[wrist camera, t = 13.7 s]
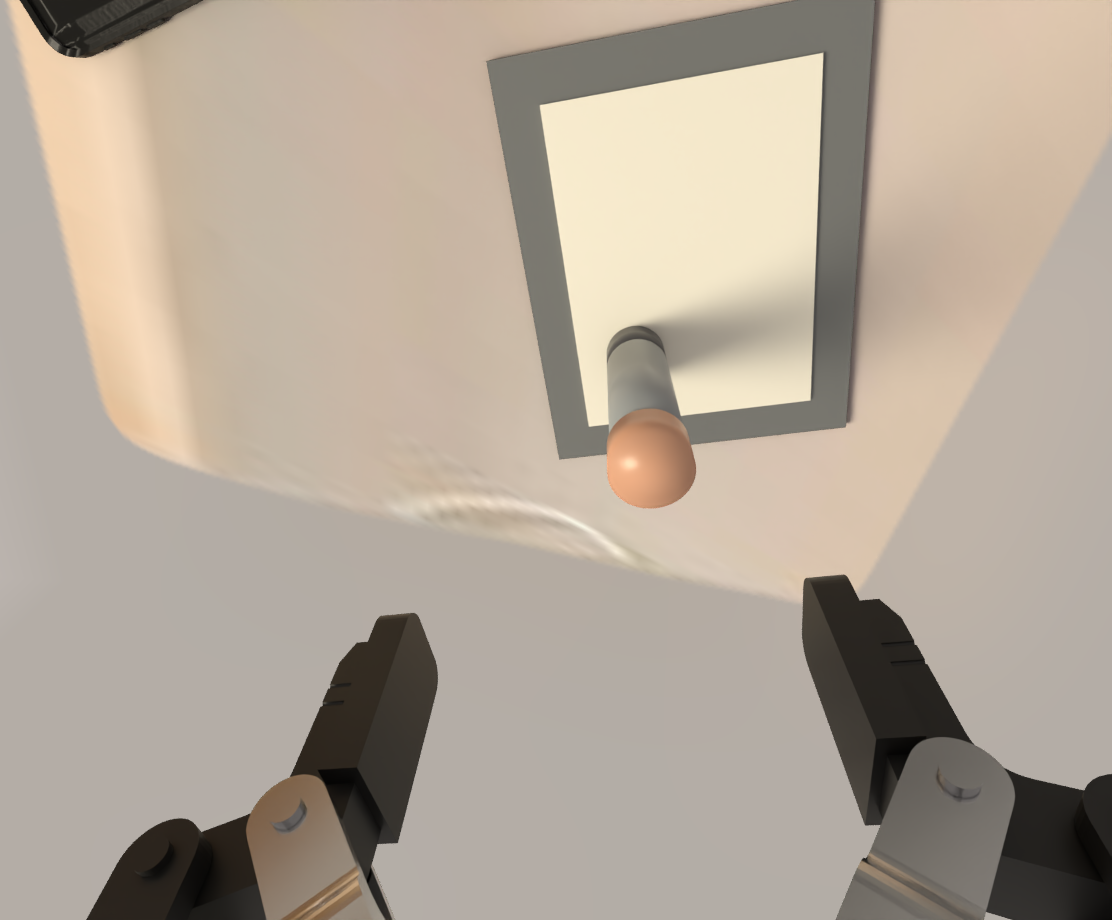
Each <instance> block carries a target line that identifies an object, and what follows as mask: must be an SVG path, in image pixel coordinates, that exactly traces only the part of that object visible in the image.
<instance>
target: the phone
mask: <svg viewBox="0 0 1112 920" xmlns="http://www.w3.org/2000/svg"><path fill="white" fill-rule="evenodd" d="M20 1H21V3H22V4H23V6H24V8H25V9H26V11H27V12H28V14H29V16H30V17H31V19H32V21H33V22H34V24H35V25H36V27H37V29H38V30H39V32H40V33H41V35H42V36H43V38H44V39H45V40H46V42H47V43H48V44H49V45H50V46H51V47H52V48H53V49H54V50H56V51H57V52H59V53H61V54H63V55H65V56H69V57H80V58H87V57H91V56H94V55H96V54H98V53H100V52H102V51H104V50H108V49H110V48H112V47H114V46H116V44H118V43H120V42H122V41H124V40H129V39H131V38H133V37H135V36H137V35H139V34H141V33H143V32H144V30H145V29H147V28H148V29H152V28H154V27H156V26H158V25H160V24H162V23H164V22H166V21H165V19H167V18H169V17H171V16H173V15H175V14H177V13H179V12H181V11H183V10H185V9H187V8H189V7H191V6H193V5H195V4H197V3H199V2H201V1H203V0H20Z"/></svg>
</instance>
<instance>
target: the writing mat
mask: <svg viewBox="0 0 1112 920" xmlns="http://www.w3.org/2000/svg"><path fill="white" fill-rule="evenodd" d="M874 8H875V0H797V1H792V2H786V3H781V4H776V5H771V6H766V7H761V8H756V9H751V10H746V11H740V12H735V13H730V14H725V15H720V16H715V17H710V18H705V19H700V20H695V21H689V22H684V23H679V24H674V25H669V26H664V27H659V28H654V29H649V30H643V31H638V32H633V33H628V34H623V35H618V36H613V37H608V38H603V39H598V40H592V41H587V42H582V43H577V44H572V45H567V46H562V47H557V48H552V49H546V50H541V51H536V52H531V53H526V54H521V55H516V56H511V57H506V58H501V59H495V60H490V61H486V62H487V67H488V73H489V78H490V84H491V89H492V95H493V100H494V105H495V111H496V116H497V122H498V127H499V133H500V138H501V144H502V149H503V155H504V160H505V165H506V171H507V176H508V182H509V187H510V193H511V198H512V204H513V209H514V214H515V220H516V225H517V231H518V236H519V242H520V247H521V253H522V258H523V263H524V269H525V274H526V280H527V285H528V291H529V296H530V302H531V307H532V313H533V318H534V323H535V329H536V334H537V340H538V345H539V351H540V356H541V362H542V367H543V372H544V378H545V383H546V389H547V394H548V400H549V405H550V411H551V416H552V421H553V427H554V432H555V438H556V443H557V449H558V454H559V460H560V459H569V458H577V457H586V456H595V455H604V454H607V439H608V436H609V419H608V386H607V347H608V344H609V342H610V340H611V339H612V337H613V336H614V335H615V334H616V333H617V332H619V331H620V330H622V329H624V328H627V327H630V326H643V327H646V328H649V329H651V330H652V331H654V332H655V333H656V334H657V335H658V336H659V337H660V339H661V341H662V343H663V347H664V351H665V355H666V359H667V363H668V367H669V371H670V375H671V379H672V383H673V387H674V391H675V395H676V399H677V403H678V407H679V411H680V415H681V419H682V423H683V425H684V426H685V428H686V430H687V433H688V436H689V440H690V444H691V445H693V444H701V443H710V442H719V441H728V440H737V439H746V438H755V437H764V436H772V435H781V434H790V433H799V432H808V431H817V430H826V429H834V428H843V427H846V418H847V403H848V388H849V374H850V359H851V344H852V330H853V315H854V301H855V286H856V271H857V257H858V242H859V227H860V213H861V198H862V183H863V169H864V154H865V139H866V125H867V110H868V96H869V81H870V66H871V52H872V37H873V22H874Z"/></svg>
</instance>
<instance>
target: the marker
mask: <svg viewBox="0 0 1112 920" xmlns="http://www.w3.org/2000/svg"><path fill="white" fill-rule="evenodd" d="M607 386H608V419H609V436H608V439H607V474H608V480H609V483H610V486H611V488H612V490H613V491H614V492H615V494H616V495H617V496H618V497H619V498H621V499H622V500H623V501H625V502H627V503H628V504H631V505H633V506H636V507H641V508H660V507H664V506H667V505H670V504H672V503H674V502H676V501H677V500H679V499H680V498H682V497H683V496H684V495H685V494H686V493H687V492H688V491H689V489H690V488H691V486H692V484H693V482H694V479H695V475H696V464H695V459H694V455H693V451H692V448H691V444H690V440H689V436H688V433H687V430H686V428H685V426H684V425H683V423H682V419H681V415H680V411H679V407H678V403H677V399H676V395H675V391H674V387H673V383H672V379H671V375H670V371H669V367H668V363H667V359H666V355H665V351H664V347H663V343H662V341H661V339H660V337H659V336H658V335H657V334H656V333H655V332H654V331H652V330H651V329H649V328H646V327H643V326H630V327H627V328H624V329H622V330H620V331H619V332H617V333H616V334H615V335H614V336H613V337H612V339H611V340H610V342H609V344H608V347H607Z"/></svg>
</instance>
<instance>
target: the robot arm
mask: <svg viewBox="0 0 1112 920" xmlns="http://www.w3.org/2000/svg"><path fill="white" fill-rule="evenodd" d="M802 639H803V647H804V652H805V656H806V661H807V664H808V667H809V670H810V673H811V675H812V678H813V681H814V684H815V687H816V689H817V692H818V695H819V698H820V701H821V703H822V706H823V709H824V711H825V715H826V717H827V720H828V723H829V726H830V729H831V731H832V734H833V737H834V740H835V743H836V745H837V748H838V751H839V754H840V757H841V759H842V762H843V765H844V768H845V771H846V773H847V776H848V779H849V782H850V784H851V787H852V790H853V793H854V796H855V798H856V801H857V804H858V807H859V810H860V813H861V815H862V818H863V821H864V824H865V825H880V828H879V831H878V833H877V835H876V838H875V840H874V843H873V845H872V848H871V850H870V852H869V854H868V856H867V858H866V859H865V858H863V859H862V860H861V862H860V864H859V866H858V868H857V870H856V872H855V874H854V876H853V879H852V881H851V884H850V886H849V888H848V891H847V893H846V896H845V898H844V901H843V903H842V905H841V908H840V910H839V913H838V915H837V918H836V920H984V917H985V913H986V912H988V913H992V914H995V915H998V916H1002V917H1005V918H1008V919H1012V920H1112V774H1108V775H1104V776H1099V777H1097V778H1095V779H1093V780H1092V781H1091V782H1090V783H1089V784H1088V785H1087V787H1086V788H1085V790H1079V789H1075V788H1070V787H1066V786H1061V785H1057V784H1052V783H1047V782H1043V781H1039V780H1034V779H1031V778H1027V777H1024V776H1021V775H1018V774H1016V773H1013V772H1011V771H1009V770H1007V769H1005V768H1003V766H1002V765H1001V764H1000V763H999V762H998V761H997V760H996V759H995V758H993V757H992V756H991V755H990V754H988V753H987V752H985V751H984V750H982V749H981V748H979V747H977V746H975V745H974V744H973V743H972V741H971V740H970V739H969V737H968V736H967V734H966V733H965V731H964V729H963V727H962V725H961V724H960V722H959V720H958V718H957V716H956V715H955V713H954V711H953V709H952V708H951V706H950V704H949V702H948V700H947V699H946V697H945V695H944V693H943V691H942V690H941V688H940V686H939V684H938V682H937V681H936V679H935V677H934V675H933V674H932V672H931V670H930V668H929V666H928V665H927V664H925V659H924V657H923V656H922V654H921V652H920V650H919V648H918V647H917V645H915V644H914V640H913V638H912V636H911V634H910V632H909V631H908V629H907V627H906V625H905V624H904V622H903V620H902V618H901V617H900V616H899V615H897V614H896V613H895V612H894V611H892V610H891V609H890V608H889V607H888V606H887V605H885V604H884V603H883V602H882V601H881V600H880V599H873V600H862V601H859V599H858V597H857V595H856V593H855V591H854V589H853V587H852V585H851V583H850V581H849V579H848V577H847V576H846V575H834V576H824V577H813V578H805V580H804V586H803V619H802ZM437 684H438V672H437V665H436V661H435V658H434V656H433V653H432V650H431V648H430V645H429V642H428V640H427V638H426V635H425V632H424V629H423V627H422V625H421V622H420V619H419V617H418V616H417V614H415V613H407V614H397V615H385V616H380V617H379V618H378V619H377V621H376V623H375V625H374V628H373V630H372V633H371V635H370V638H369V640H368V642H361V643H356V644H355V646H354V647H353V648H352V649H351V650H350V651H349V652H348V654H347V655H346V656H345V657H344V659H342V660H341V662H340V663H339V665H338V667H337V670H336V672H335V674H334V677H333V679H332V681H331V684H330V686H331V687H330V689H328V691H327V693H326V695H325V698H324V700H323V706H322V707H320V709H319V712H318V714H317V716H316V718H315V721H314V723H313V725H312V728H311V730H310V732H309V735H308V737H307V739H306V742H305V744H304V746H303V749H302V751H301V753H300V756H299V758H298V760H297V762H296V765H295V767H294V769H293V772H292V774H291V776H290V777H289V778H287V779H285V780H283V781H281V782H279V783H278V784H276V785H275V786H273V787H272V788H271V789H270V790H268V791H267V792H266V793H265V794H264V795H263V796H262V797H261V798H260V800H259V801H258V802H257V804H256V805H255V807H254V808H253V810H252V812H251V813H250V814H248V815H246V816H243V817H241V818H238V819H236V820H233V821H230V822H227V823H225V824H222V825H219V826H217V827H214V828H211V829H209V830H206V831H203V832H201V831H200V830H199V829H198V828H197V826H196V825H195V824H194V823H193V822H192V821H190V820H188V819H172V820H168V821H166V822H162V823H160V824H158V825H156V826H154V827H153V828H151V829H149V830H148V831H147V832H145V833H144V834H143V835H141V836H140V837H139V838H138V839H137V840H136V841H134V842H133V844H132V845H131V846H130V847H129V848H128V849H127V850H126V852H125V853H124V854H123V855H122V857H121V858H120V860H119V862H118V863H117V865H116V867H115V869H114V871H113V872H112V874H111V876H110V878H109V880H108V881H107V883H106V885H105V887H104V889H103V890H102V893H101V894H100V896H99V898H98V900H97V902H96V903H95V905H94V907H93V909H92V910H91V912H90V914H89V916H88V918H87V919H86V920H395V918H394V915H393V913H392V911H391V908H390V906H389V903H388V901H387V899H386V896H385V893H384V891H383V889H382V886H381V884H380V881H379V879H378V876H377V874H376V872H375V869H374V867H373V866H372V861H373V858H374V854H375V851H376V847H377V844H386V843H398V840H399V836H400V832H401V828H402V824H403V820H404V817H405V813H406V809H407V805H408V801H409V797H410V793H411V789H412V785H413V781H414V777H415V774H416V770H417V766H418V762H419V758H420V754H421V750H422V746H423V742H424V738H425V734H426V730H427V727H428V723H429V719H430V715H431V711H432V707H433V703H434V699H435V695H436V691H437Z"/></svg>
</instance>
